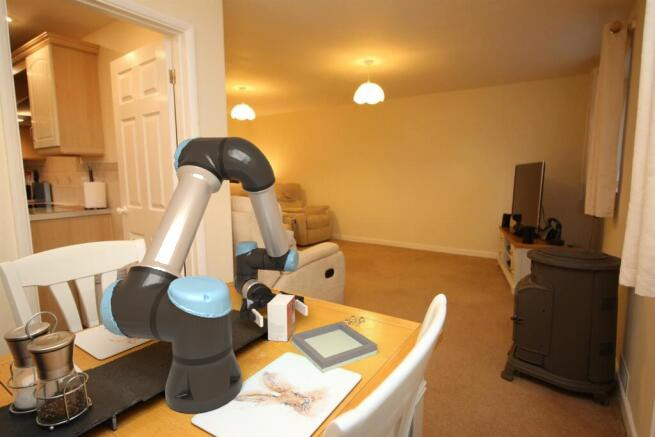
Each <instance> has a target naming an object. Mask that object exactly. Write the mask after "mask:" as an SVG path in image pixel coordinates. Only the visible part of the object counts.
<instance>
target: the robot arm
mask: <svg viewBox="0 0 655 437" xmlns="http://www.w3.org/2000/svg"><path fill="white" fill-rule="evenodd" d="M173 159H174V160H175V161H174V162H173V167H174V169H175V172H176V177H177V179H178V183H177V185H176V187H175V190H174V191H173V193H172V196H171V198H170V200H169V202H168V204H167V207H166V209H165V211H164V213H163V215H162V217H161V219H160V221H159V223H158V226H157V227H156V231H155V233H154V235H153V237H152V239H151V240H150V243H149V245H148V247H147V249H146V251H145V254H144V256H143V258H142V260H141V262H139V263H135V264H133V265H131V266H130V268H129V270H128V272H127V274H126V276H125V278H119V279H117V280H115V281H114V282H112V283H110V284H109V285H108V286H107V287H106V289H105V290H104V292H103V294H102V297H101V299H100V302H99V304H100V305H99V316H100V318H101V322H102V324H103V326H104V328H105V329H106V330H107V331H108V332H110V333H111V334H113V335H117V336H122V337H125V338H127V339H144V340H153V341H158V342H159V341H160V342H168V343H171V349H172V350H171V351H172V362H171V366H170V369H169V373H168V375H167V379H166V383H165V388H164V392H165V403H166V404H167V406H168V407H169V408H170V409H171V410H173V411H175V412H178V413H184V414H199V413H200V414H201V413H205V412H209V411H213V410H216V409H219V408H221V407H222V406H225V405H227V404H228V403H229V402H231V401H232V400H233V399H235V398H237V396H238V394H239V393H240V392H241V390H242V386H243V373H242V369H241V367H240V365H239V361H238V360H237V357H236V355H235V352H234V350H233V348H234V347H233V325H232V324H233V320H232V318H233V317H232V316H233V315H232V308H233V305H232V299H231V298H232V297H231V291H230V288H229V286H228V285H227V284H226V282H224V280H222V279H219V278H217V277H213V276H209V275H195V276H194V275H187V276H182V274H181V273H182V271H183V268H184V266H185V263H186V260H187V258H188V256H189V252H190V250H191V247H192V245H193V243H194V241H195V240H194V239H195V237H196V235H197V232H198V230H199V228H200V225H201V222H202V219H203V217H204V215H205V212H206V211H207V208H208V204H209V202H210V199H211V197H212V195H213V194H215V193H218V192H219V191H220V190H221V188H222V185H223V183H224V181H238V182H239V183H240V184H241V189H242V190H243V191H244V192H246V193H247V194H248V198H249V201H250V204H251V207H252V211H253V213H254V216H255V219H256V223H257V226H258V228H259V232H260V235H261V238H262V241H263V244H264V247H259V246H258V245H259V244H258V242H256V241H253V240H243V241H238V242H237V243H236V244H235V255H234V256H235V271H236V272H235V276H234V279H233V282H232V286H233V288H234V290H235V291H236V292H237V293H238V294H239V295H241V297H243V298H241V302H242V304H241V306H240V309H239V319H240V320H243V319H245V318H246V321H247V322H251V321H252V322H255V324H256V325H258V326H259V327H260V328H262V327H264V316H262V315H261V313H260V312H259V311H260V310H261V309H263V308H265V307H267V304H268V303H269V302H270V301H271V300H272V299H273V298H274V297H275V296H276V295H277V294H278V293H274V292H273V291H272V289H271V287H269V286H267V284H265V283H263V282H262V281H261V280H259V271H269V272H270V271H272V272H283V273H285V272H290V273H292V272H296V271H297V269H298V266H299V263H300V256H299V252H298V251H297V249H292V248H290V246H289V243H288V242H289V241H288V239H287V234H286V230H285V227H284V221H283V219H282V214H281V211H280V207H279V203H278V202H279V201H278V199H277V194H276V191H275V187H274V185H275V184H276V176H275V172H274V169H273V167H272V165H271V163H270V161H269V160H268V158H267V156H266V155H265V154H264V153H263V151H262V150H261V149H260V148H259V147H258V146H257V145H255V144H254V143H253V142H251V141H250V140H248V139H247V138H243V137H240V136H227V137H226V136H222V137H220V136H219V137H218V136H217V137H215V136H214V137H211V136H210V137H203V136H197V137H193V138H192V137H191V138H186V139H184V140H183V141H181V142H180V143H179V144H178V145H177V147H176V149H175V151H174V155H173ZM279 294H283V295H295V310H296V311H298V312H299V313H301V314H302V315H303V316H305V317H307V316H308V314H309V311H308V309H309V308H308V307H309V306H308V305H306V303H305V296H304V295H303V296H302V295H297V294H293V293H290V292H285V291H284V290H280V291H279Z"/></svg>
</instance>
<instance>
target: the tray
mask: <svg viewBox="0 0 655 437" xmlns="http://www.w3.org/2000/svg"><path fill="white" fill-rule="evenodd" d="M291 344H292V346H293V347H294V348H296V349H297V350H298V352H300V353H301V354H302V355H303V356H304V357H305V358H306V359H307V360H308V361H309V362H310V363H311V364H312V365H313V366H314V367H315V368H316V369H318V371H319V372H321V373H322V374H324V373H323V372H325V373H327V372H330V371H332V370H331V369H333V370H335V369H334V368H336V369H338V368H341V367H344V366H347V365H349V364H353V363H355V362H358V361H361V360H364V359H366V358H370V357H372V356H374V355H377V354H378V344H377V343H375V342H374V341H372V340H371V339H369V338H368V337H367V336H365V335H363V334H362V333H360V332H359V331H357V330H355V329H354V328H352V327H351V326H349V325H346V324H345V323H344V321H341V320H340V321H337V322H334V323H330V324H326V325H323V326H319V327H315V328H312V329H308V330H304V331H301V332H298V333H293V334H292V335H291ZM329 370H330V371H329ZM326 371H327V372H326Z"/></svg>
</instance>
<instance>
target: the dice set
mask: <svg viewBox="0 0 655 437" xmlns="http://www.w3.org/2000/svg"><path fill="white" fill-rule="evenodd" d="M358 320H359V321H358V322H356V316H354V315H351V316H350V320H349V319H344V320H343V323H345V324H346V325H348V326H349V325H351V326H355V324H356V326H355V327H357V328H361V327H362V326H361V324H364V323H365V317H362V316H360V317H359V318H358ZM355 322H356V323H355Z"/></svg>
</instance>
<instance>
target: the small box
mask: <svg viewBox="0 0 655 437" xmlns="http://www.w3.org/2000/svg"><path fill="white" fill-rule="evenodd" d="M276 294H277V295H276V296H275V297H274V298H273V299H272V300H271V301H270V302H269V303H268V304H267V306H266V307H267V340H268V341H271V342H272V341H273V342H274V341H275V342H285V343H287V342H288V341H289V340H290V338H292V335H293V334H294V333H295V331H296V309H295V295H296V294H294V295H283V294H280V293H276Z"/></svg>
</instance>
